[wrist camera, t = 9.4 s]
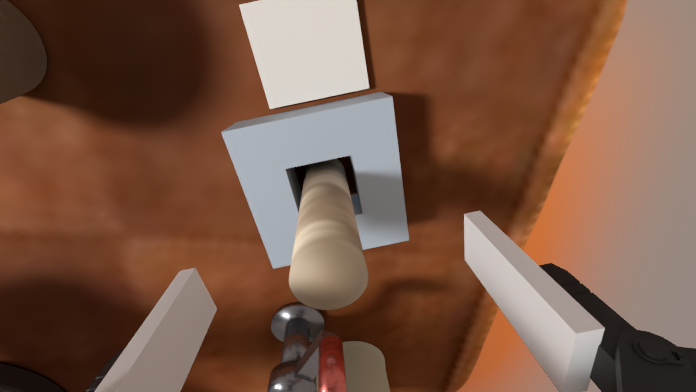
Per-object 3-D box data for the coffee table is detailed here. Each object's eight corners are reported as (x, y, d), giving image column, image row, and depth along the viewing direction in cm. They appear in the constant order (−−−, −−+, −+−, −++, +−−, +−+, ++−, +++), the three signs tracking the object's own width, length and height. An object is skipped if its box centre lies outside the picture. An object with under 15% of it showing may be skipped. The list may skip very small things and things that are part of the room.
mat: (271, 108, 23) (269, 109, 22) (241, 6, 20) (238, 4, 19) (368, 87, 23) (369, 88, 22) (352, -17, 20) (353, -20, 19)
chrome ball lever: (262, 383, 27) (247, 463, 22) (313, 312, 24) (311, 384, 18) (303, 395, 28) (299, 472, 23) (357, 329, 25) (367, 401, 20)
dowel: (310, 196, 26) (300, 316, 14) (300, 159, 25) (278, 257, 12) (348, 188, 26) (373, 301, 14) (340, 151, 25) (361, 239, 12)
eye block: (279, 242, 28) (273, 268, 24) (236, 121, 23) (221, 132, 19) (397, 217, 28) (409, 240, 24) (381, 91, 23) (392, 96, 19)
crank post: (280, 344, 34) (272, 397, 29) (264, 308, 31) (253, 359, 26) (329, 334, 34) (330, 385, 29) (317, 297, 31) (316, 346, 26)
